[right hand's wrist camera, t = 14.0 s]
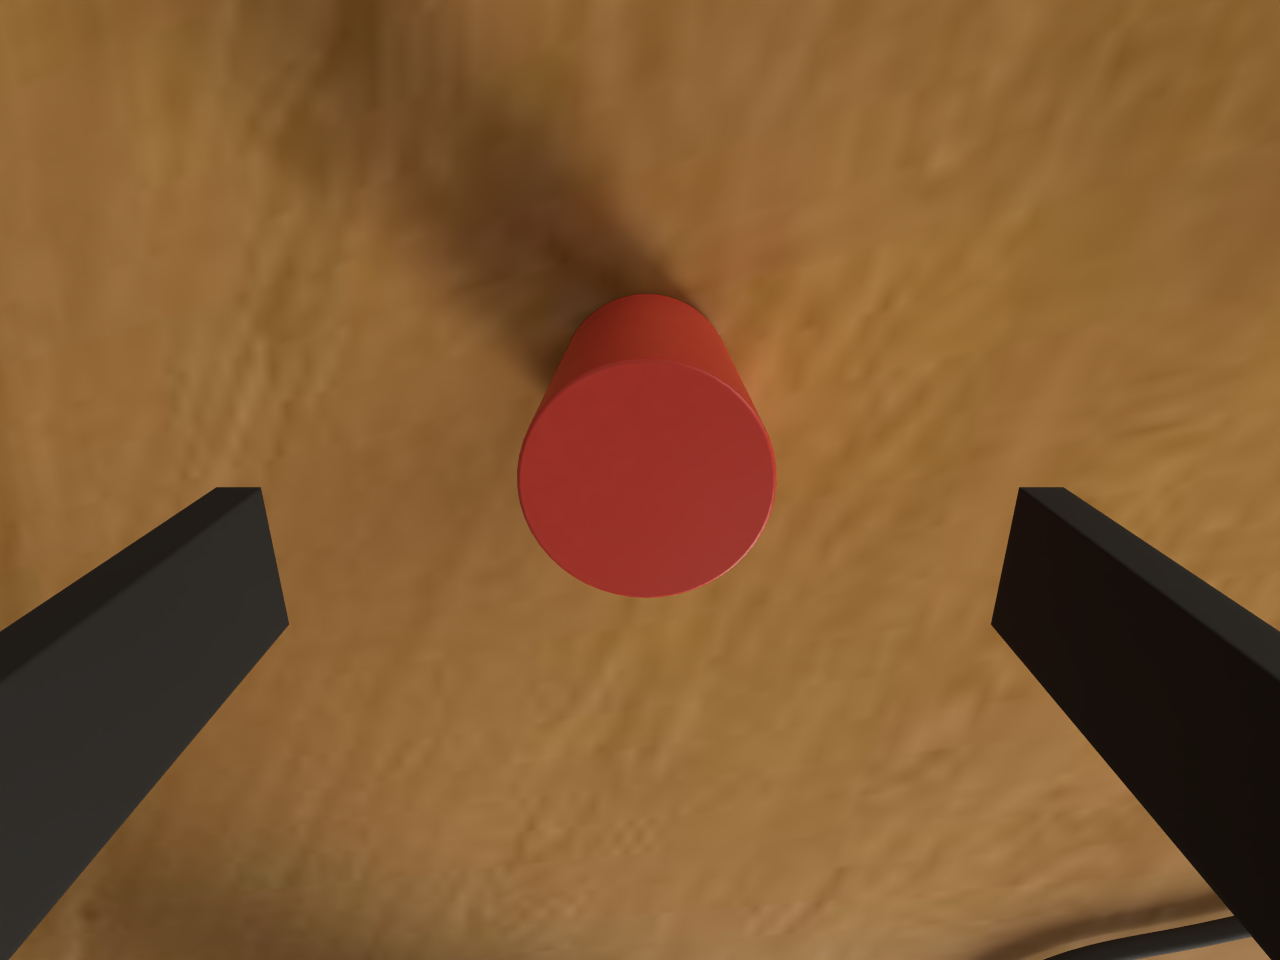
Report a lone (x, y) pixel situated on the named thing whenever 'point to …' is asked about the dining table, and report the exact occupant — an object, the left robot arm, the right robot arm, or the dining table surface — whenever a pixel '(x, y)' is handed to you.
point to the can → (646, 454)
